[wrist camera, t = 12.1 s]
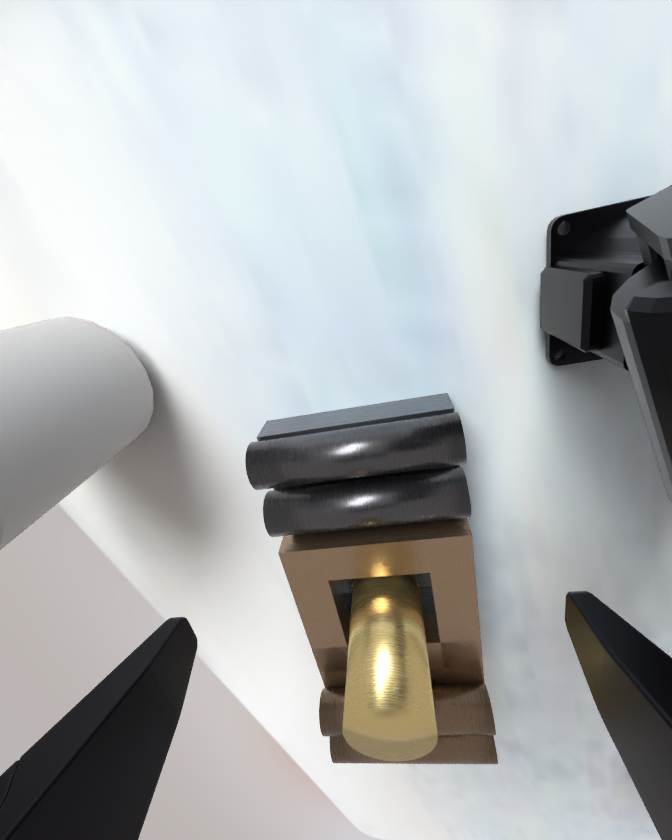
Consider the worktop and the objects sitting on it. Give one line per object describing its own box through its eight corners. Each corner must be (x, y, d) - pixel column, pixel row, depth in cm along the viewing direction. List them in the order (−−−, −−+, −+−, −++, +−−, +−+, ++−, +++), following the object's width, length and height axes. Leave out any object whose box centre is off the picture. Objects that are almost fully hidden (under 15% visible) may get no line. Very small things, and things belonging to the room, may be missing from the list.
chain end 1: (446, 389, 20) (463, 426, 16) (468, 608, 26) (484, 673, 22) (265, 418, 22) (241, 457, 18) (327, 616, 28) (318, 678, 24)
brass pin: (412, 532, 24) (432, 706, 15) (419, 579, 26) (442, 761, 17) (349, 538, 25) (333, 707, 16) (360, 583, 26) (351, 761, 17)
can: (149, 316, 20) (-122, 406, 9) (172, 443, 23) (-9, 621, 12) (15, 310, 21) (-390, 387, 10) (55, 435, 24) (-217, 598, 13)
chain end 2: (456, 487, 22) (483, 573, 17) (474, 666, 29) (498, 772, 23) (293, 506, 24) (266, 589, 18) (343, 671, 31) (336, 771, 25)
